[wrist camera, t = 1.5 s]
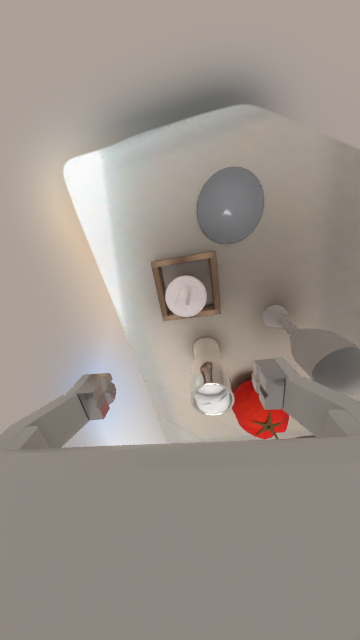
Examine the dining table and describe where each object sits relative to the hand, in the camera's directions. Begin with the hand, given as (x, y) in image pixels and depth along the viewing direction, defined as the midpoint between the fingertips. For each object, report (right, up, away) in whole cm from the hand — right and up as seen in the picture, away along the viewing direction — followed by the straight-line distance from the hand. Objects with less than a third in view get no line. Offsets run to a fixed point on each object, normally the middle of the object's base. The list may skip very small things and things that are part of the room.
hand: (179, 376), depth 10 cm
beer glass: (+6, -3, +30) cm, 31 cm away
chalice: (+20, +4, +26) cm, 33 cm away
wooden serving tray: (+2, +10, +25) cm, 27 cm away
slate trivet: (+8, +22, +19) cm, 31 cm away
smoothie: (+2, +10, +25) cm, 27 cm away
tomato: (+18, -14, +33) cm, 40 cm away
